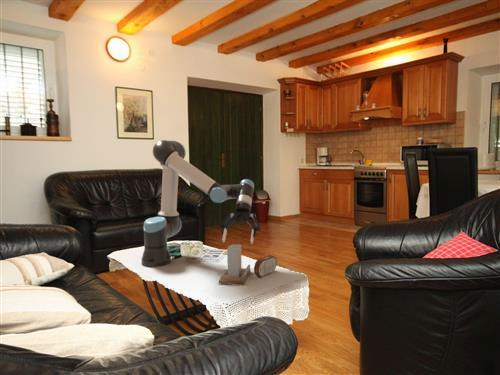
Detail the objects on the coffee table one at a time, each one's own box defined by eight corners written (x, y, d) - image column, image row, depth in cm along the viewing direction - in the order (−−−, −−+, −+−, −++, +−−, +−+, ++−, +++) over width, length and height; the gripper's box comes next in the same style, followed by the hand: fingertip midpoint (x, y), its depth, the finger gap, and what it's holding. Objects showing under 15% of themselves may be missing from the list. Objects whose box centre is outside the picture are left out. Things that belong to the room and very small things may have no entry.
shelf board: (228, 270, 173) (228, 267, 173) (250, 271, 171) (250, 268, 171) (218, 283, 155) (218, 280, 155) (243, 285, 153) (243, 281, 153)
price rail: (248, 268, 171) (248, 264, 171) (250, 268, 171) (250, 264, 170) (241, 281, 153) (241, 277, 153) (243, 281, 153) (243, 277, 153)
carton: (227, 276, 160) (227, 248, 159) (231, 271, 167) (230, 244, 166) (239, 277, 159) (238, 248, 158) (241, 272, 166) (241, 244, 165)
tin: (272, 269, 174) (272, 252, 173) (277, 271, 172) (277, 254, 171) (253, 278, 162) (253, 260, 161) (258, 279, 160) (258, 261, 159)
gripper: (268, 210, 180) (264, 247, 167) (221, 209, 185) (213, 244, 172) (267, 201, 174) (262, 238, 161) (218, 200, 179) (210, 236, 166)
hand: (237, 242), depth 166 cm, fingers open, 13 cm apart
